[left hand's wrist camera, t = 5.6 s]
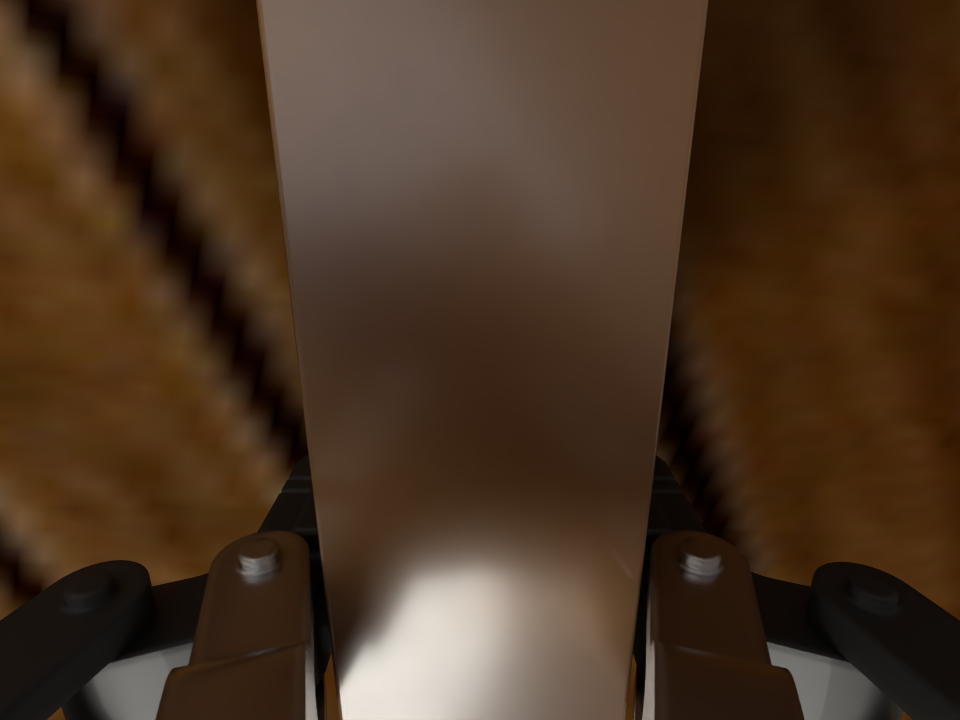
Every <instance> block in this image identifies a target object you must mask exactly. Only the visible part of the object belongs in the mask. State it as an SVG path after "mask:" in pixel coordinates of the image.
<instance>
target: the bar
mask: <svg viewBox="0 0 960 720" xmlns="http://www.w3.org/2000/svg"><path fill="white" fill-rule="evenodd" d="M708 3H709V0H256V4H257V12H258V21H259V30H260V38H261V47H262V56H263V64H264V73H265V81H266V90H267V99H268V107H269V116H270V124H271V133H272V142H273V150H274V159H275V168H276V176H277V185H278V193H279V202H280V211H281V219H282V228H283V237H284V245H285V254H286V262H287V271H288V280H289V288H290V297H291V305H292V314H293V323H294V331H295V340H296V349H297V357H298V366H299V374H300V383H301V392H302V400H303V409H304V417H305V426H306V435H307V443H308V452H309V461H310V469H311V478H312V486H313V495H314V504H315V512H316V521H317V529H318V538H319V547H320V555H321V564H322V573H323V581H324V590H325V598H326V607H327V616H328V624H329V633H330V642H331V650H332V659H333V667H334V676H335V685H336V693H337V702H338V710H339V719H340V720H625V716H626V708H627V699H628V691H629V682H630V673H631V665H632V656H633V648H634V639H635V630H636V622H637V613H638V605H639V596H640V587H641V579H642V570H643V562H644V553H645V544H646V536H647V527H648V519H649V510H650V501H651V493H652V484H653V476H654V467H655V458H656V450H657V441H658V433H659V424H660V415H661V407H662V398H663V390H664V381H665V372H666V364H667V355H668V347H669V338H670V329H671V321H672V312H673V304H674V295H675V286H676V278H677V269H678V261H679V252H680V243H681V235H682V226H683V218H684V209H685V200H686V192H687V183H688V175H689V166H690V157H691V149H692V140H693V132H694V123H695V114H696V106H697V97H698V89H699V80H700V71H701V63H702V54H703V46H704V37H705V28H706V20H707V11H708Z"/></svg>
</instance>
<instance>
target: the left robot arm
mask: <svg viewBox="0 0 960 720" xmlns="http://www.w3.org/2000/svg"><path fill="white" fill-rule="evenodd" d="M331 651H332V650H331V642H330V633H329V624H328V616H327V607H326V598H325V590H324V581H323V573H322V564H321V555H320V547H319V538H318V529H317V521H316V512H315V504H314V495H313V486H312V478H311V469H310V461H309V454H308V455H306V456H305V457H304V458H302V459H301V460H300V461H298V462H297V464H296V466H295V468H294V469H293V471H292V473H291V475H290V476H289V480H287V482H286V483H285V485H284V487H283V489H282V493H280V494H279V496H278V497H277V499H276V501H275V503H274V504H273V506H272V508H271V510H270V511H269V513H268V515H267V517H266V518H265V520H264V522H263V524H262V525H261V527H260V529H259V531H258V532H257V533H254V534H251V535H247V536H245V537H242V538H240V539H238V540H236V541H234V542H232V543H231V544H229V545H228V546H226V547H225V548H224V549H223V550H221V551H220V552H219V553H218V555H217V556H216V557H215V558H214V560H213V562H212V564H211V567H210V570H209V573H207V574H204V575H201V576H197V577H193V578H189V579H184V580H180V581H175V582H170V583H166V584H161V585H157V586H152V585H151V581H150V577H149V573H148V571H147V569H146V568H145V567H144V566H142V565H141V564H139V563H136V562H133V561H125V560H117V561H108V562H102V563H98V564H94V565H91V566H88V567H85V568H82V569H80V570H77V571H75V572H73V573H71V574H69V575H67V576H65V577H63V578H62V579H60V580H58V581H57V582H55V583H54V584H52V585H51V586H49V587H48V588H47V589H45V590H44V591H42V592H41V593H39V594H38V595H37V596H35V597H34V598H32V599H31V600H29V601H28V602H26V603H25V604H24V605H22V606H21V607H19V608H18V609H16V610H15V611H14V612H12V613H11V614H9V615H8V616H6V617H5V618H3V619H2V620H1V621H0V720H47V719H48V718H49V717H50V716H51V715H52V714H53V713H55V712H56V711H57V710H58V709H59V708H60V707H62V710H63V713H64V716H65V719H66V720H327V703H326V684H325V676H324V674H325V671H326V668H327V665H328V661H329V658H330V654H331ZM633 654H634V658H635V661H636V664H637V668H636V676H635V684H634V702H633V720H900V719H901V716H902V713H903V711H904V712H905V713H907V714H908V715H909V716H910V717H911V718H912V719H913V720H960V621H959V620H958V619H957V618H955V617H954V616H952V615H951V614H949V613H948V612H946V611H945V610H944V609H942V608H941V607H939V606H938V605H936V604H935V603H934V602H932V601H931V600H929V599H928V598H926V597H925V596H924V595H922V594H921V593H919V592H918V591H916V590H915V589H913V588H912V587H911V586H909V585H908V584H906V583H905V582H903V581H901V580H900V579H898V578H896V577H894V576H892V575H890V574H888V573H886V572H883V571H881V570H878V569H876V568H873V567H870V566H866V565H862V564H857V563H850V562H833V563H828V564H825V565H822V566H821V567H819V568H818V569H817V570H816V571H815V573H814V576H813V579H812V583H811V587H809V586H804V585H800V584H795V583H791V582H786V581H781V580H777V579H772V578H768V577H765V576H761V575H758V574H755V573H753V572H751V570H750V567H749V564H748V562H747V560H746V558H745V557H744V556H743V555H742V553H741V552H740V551H739V550H737V549H736V548H735V547H734V546H732V545H731V544H729V543H728V542H726V541H724V540H722V539H720V538H718V537H715V536H713V535H709V534H707V533H706V531H705V529H704V527H703V526H702V524H701V522H700V521H699V519H698V517H697V515H696V514H695V512H694V510H693V509H692V507H691V505H690V503H689V502H688V500H687V498H686V496H685V495H684V494H682V490H681V488H680V486H679V484H678V483H677V481H675V478H674V476H673V474H672V472H671V471H670V469H669V467H668V466H667V464H666V462H665V461H663V460H662V459H661V458H659V457H658V456H656V458H655V467H654V476H653V484H652V493H651V501H650V510H649V519H648V527H647V536H646V544H645V553H644V562H643V570H642V579H641V587H640V596H639V605H638V613H637V622H636V630H635V639H634V648H633Z"/></svg>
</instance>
